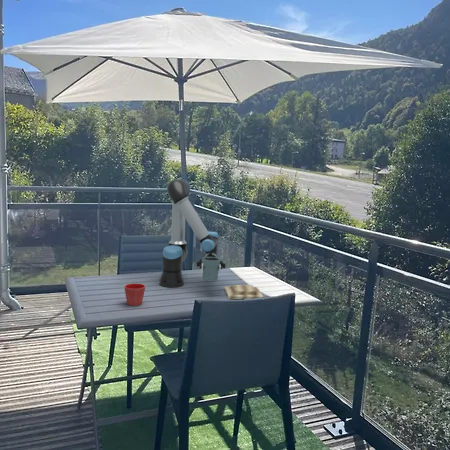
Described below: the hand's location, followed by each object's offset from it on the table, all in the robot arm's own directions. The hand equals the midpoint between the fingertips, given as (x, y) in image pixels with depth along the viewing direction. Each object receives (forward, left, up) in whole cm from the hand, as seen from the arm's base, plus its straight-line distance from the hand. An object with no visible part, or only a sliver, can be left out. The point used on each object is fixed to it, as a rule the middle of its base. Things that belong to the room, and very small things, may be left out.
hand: (211, 268), depth 256 cm
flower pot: (-42, -14, -17) cm, 47 cm away
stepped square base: (+20, +4, -17) cm, 27 cm away
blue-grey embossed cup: (0, +4, -7) cm, 9 cm away
